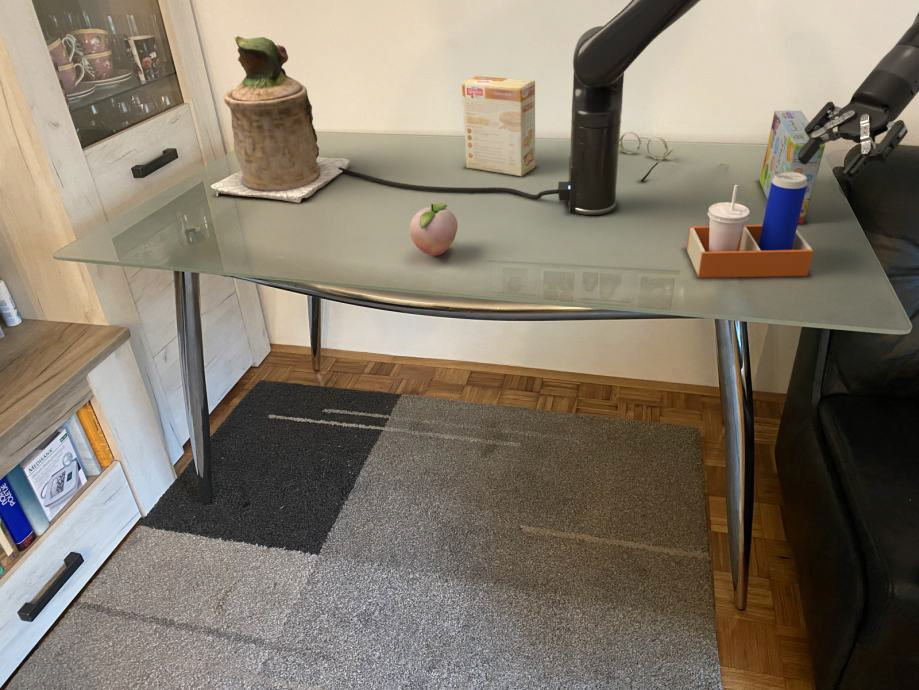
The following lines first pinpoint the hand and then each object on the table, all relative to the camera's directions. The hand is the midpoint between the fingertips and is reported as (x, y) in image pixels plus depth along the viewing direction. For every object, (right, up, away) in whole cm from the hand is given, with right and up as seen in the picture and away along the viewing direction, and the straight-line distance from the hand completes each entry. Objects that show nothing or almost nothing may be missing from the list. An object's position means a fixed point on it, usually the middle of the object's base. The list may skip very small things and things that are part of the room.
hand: (822, 169), depth 110 cm
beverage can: (-6, -14, +6) cm, 16 cm away
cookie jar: (-100, +10, +52) cm, 113 cm away
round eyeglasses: (-20, +13, +47) cm, 53 cm away
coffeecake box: (-49, +13, +50) cm, 71 cm away
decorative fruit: (-63, -12, +15) cm, 66 cm away
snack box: (+5, 0, +26) cm, 26 cm away
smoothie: (-14, -14, +7) cm, 21 cm away
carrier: (-10, -14, +6) cm, 19 cm away
